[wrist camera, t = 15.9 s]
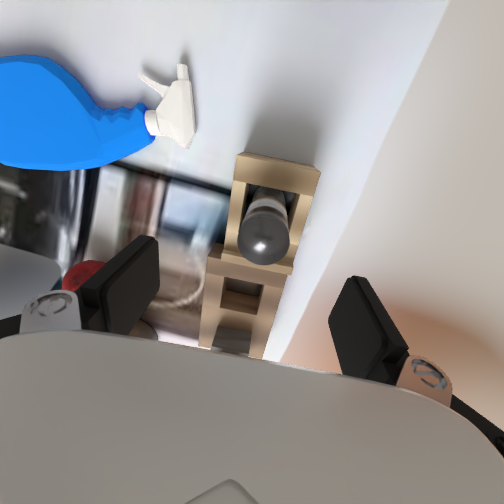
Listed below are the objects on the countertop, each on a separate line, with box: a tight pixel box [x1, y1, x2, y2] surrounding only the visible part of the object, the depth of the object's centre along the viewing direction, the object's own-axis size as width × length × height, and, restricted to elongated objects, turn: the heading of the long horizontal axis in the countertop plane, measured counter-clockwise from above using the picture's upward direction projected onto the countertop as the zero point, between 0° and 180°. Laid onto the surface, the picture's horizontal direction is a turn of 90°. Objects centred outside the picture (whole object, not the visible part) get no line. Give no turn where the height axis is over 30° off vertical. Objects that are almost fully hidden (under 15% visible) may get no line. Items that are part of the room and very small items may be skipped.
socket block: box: [198, 243, 287, 359], centre depth 31 cm, size 16×10×8 cm, turn 170°
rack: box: [221, 152, 321, 275], centre depth 25 cm, size 11×8×6 cm
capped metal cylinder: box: [237, 186, 290, 265], centre depth 23 cm, size 4×4×12 cm
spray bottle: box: [0, 55, 196, 171], centre depth 25 cm, size 3×11×25 cm
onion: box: [62, 260, 105, 292], centre depth 31 cm, size 6×6×8 cm
